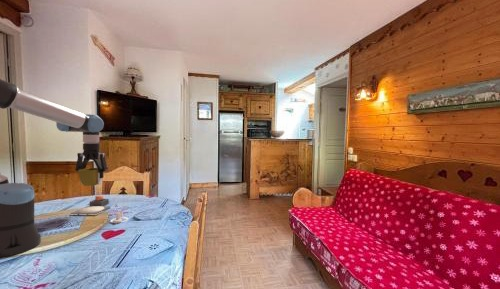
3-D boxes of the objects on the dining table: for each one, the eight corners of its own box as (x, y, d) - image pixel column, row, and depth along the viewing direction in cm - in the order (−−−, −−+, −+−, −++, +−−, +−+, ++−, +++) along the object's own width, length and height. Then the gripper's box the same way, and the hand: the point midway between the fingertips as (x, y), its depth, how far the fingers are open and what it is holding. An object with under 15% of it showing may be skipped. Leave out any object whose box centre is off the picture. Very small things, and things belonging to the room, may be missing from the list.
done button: (100, 202, 138) (100, 197, 138) (93, 202, 138) (93, 197, 138) (104, 200, 142) (104, 195, 142) (98, 200, 142) (98, 195, 142)
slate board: (95, 215, 122) (95, 213, 122) (70, 215, 122) (70, 213, 122) (110, 208, 135) (110, 206, 135) (87, 207, 135) (87, 205, 135)
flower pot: (93, 187, 124) (93, 170, 123) (77, 186, 124) (77, 169, 124) (104, 183, 133) (104, 168, 132) (89, 183, 133) (89, 167, 132)
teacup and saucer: (119, 225, 111) (119, 216, 111) (104, 223, 113) (104, 215, 113) (131, 218, 120) (131, 211, 120) (118, 217, 121) (118, 209, 121)
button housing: (101, 207, 137) (101, 202, 137) (89, 206, 137) (89, 201, 136) (108, 203, 144) (108, 198, 144) (97, 203, 144) (97, 198, 143)
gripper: (114, 143, 131) (114, 182, 132) (76, 142, 131) (77, 182, 132) (106, 143, 124) (106, 185, 125) (66, 142, 123) (66, 184, 124)
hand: (91, 183), depth 128 cm, fingers closed on flower pot, 8 cm apart
